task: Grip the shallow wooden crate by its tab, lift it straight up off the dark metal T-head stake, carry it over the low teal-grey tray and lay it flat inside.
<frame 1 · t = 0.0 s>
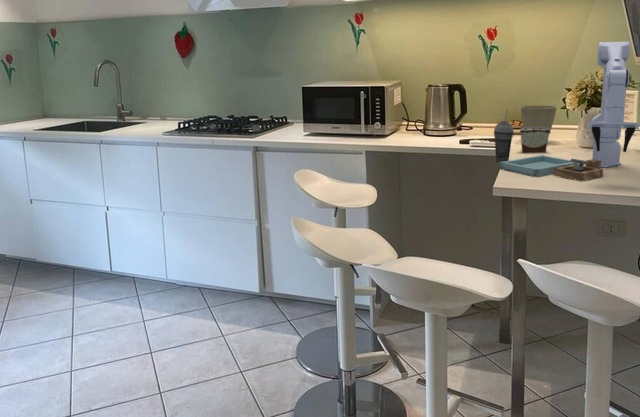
hand: (611, 151, 201), 11 cm above the counter, tool pointing down, fingers open, 7 cm apart
beverage cup: (502, 162, 243), on the counter
food container: (532, 152, 261), on the counter
stake: (578, 176, 216), on the counter
shallow wooden crate: (578, 176, 216), on the counter
tray: (538, 168, 229), on the counter
plant pot: (536, 143, 281), on the counter
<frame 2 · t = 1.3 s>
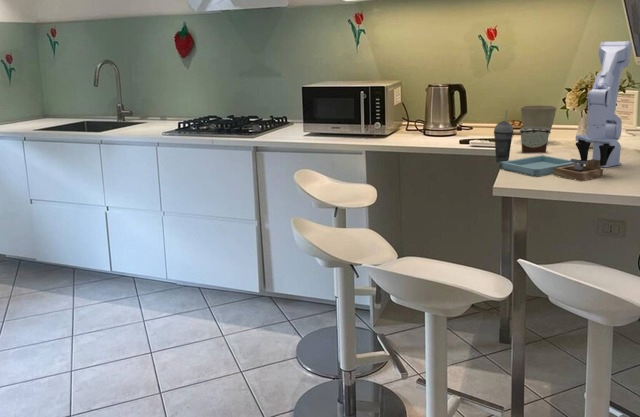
hand: (593, 163, 218), 3 cm above the counter, tool pointing down, fingers open, 7 cm apart
nothing on the counter moved.
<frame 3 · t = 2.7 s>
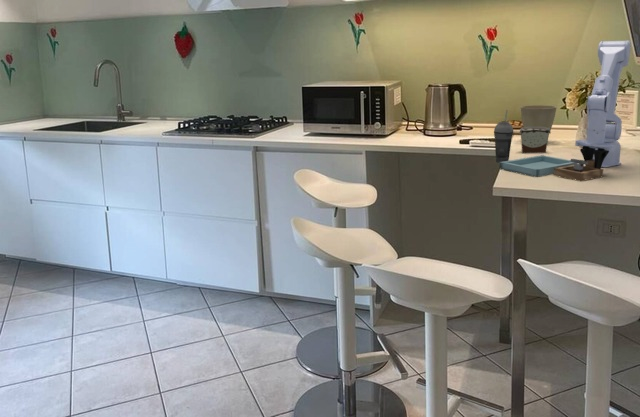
hand: (592, 169, 219), 1 cm above the counter, tool pointing down, fingers closed on shallow wooden crate, 3 cm apart
shallow wooden crate: (578, 176, 216), on the counter, touching gripper
everything else where it was.
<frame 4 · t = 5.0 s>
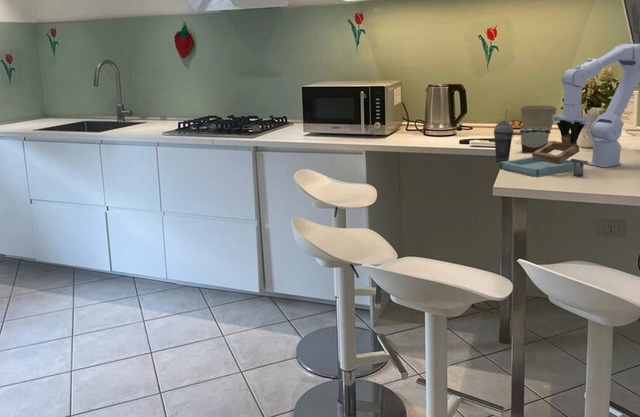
hand: (569, 142, 225), 9 cm above the counter, tool pointing down, fingers closed on shallow wooden crate, 3 cm apart
shallow wooden crate: (555, 155, 223), point 6 cm above the counter, tilted 17°, touching gripper
everything else where it was.
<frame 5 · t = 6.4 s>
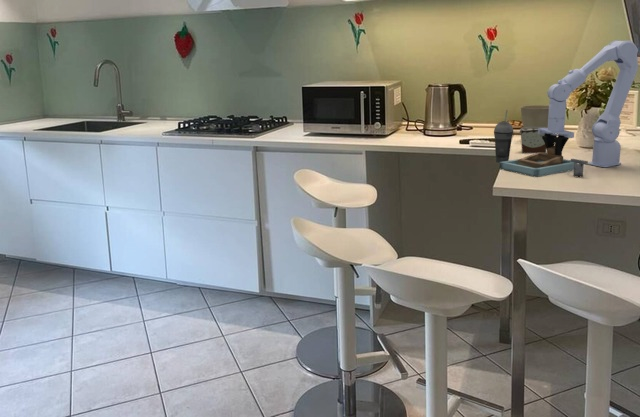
hand: (554, 155, 231), 4 cm above the counter, tool pointing down, fingers closed on shallow wooden crate, 3 cm apart
shallow wooden crate: (540, 164, 229), point 1 cm above the counter, tilted 9°, touching gripper, tray
everything else where it was.
when the fingers open (4 cm above the counter, at t = 7.2 s): shallow wooden crate stays where it is, resting on tray.
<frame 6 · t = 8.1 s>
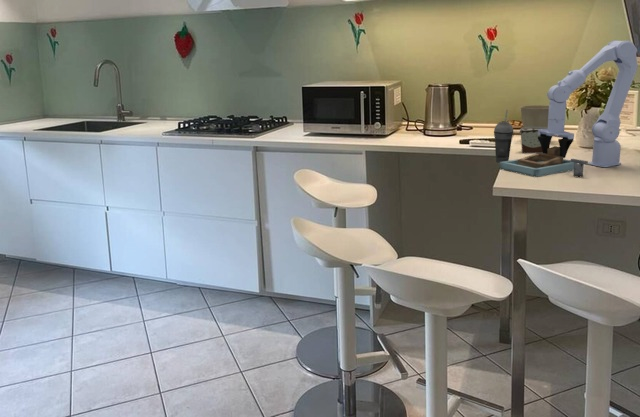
hand: (554, 156, 231), 4 cm above the counter, tool pointing down, fingers open, 7 cm apart
shallow wooden crate: (540, 165, 229), point 1 cm above the counter, tilted 8°, touching tray
everything else where it was.
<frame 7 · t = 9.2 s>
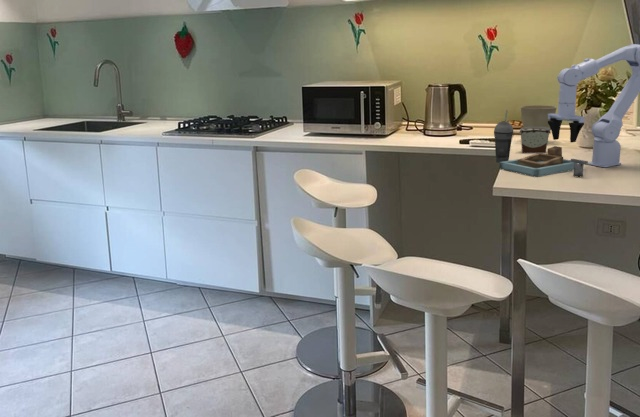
hand: (564, 140, 229), 9 cm above the counter, tool pointing down, fingers open, 7 cm apart
nothing on the counter moved.
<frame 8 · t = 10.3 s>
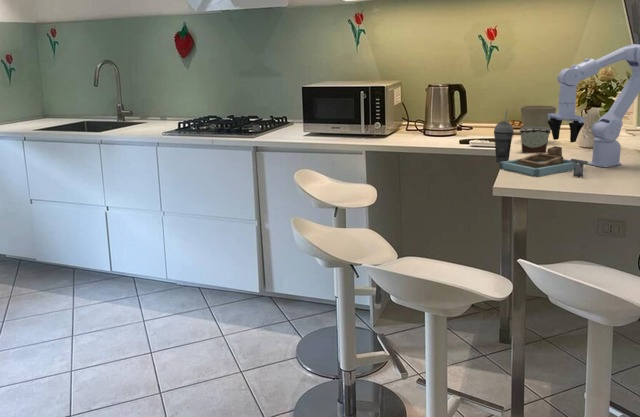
hand: (564, 140, 229), 9 cm above the counter, tool pointing down, fingers open, 7 cm apart
nothing on the counter moved.
at the end: shallow wooden crate inside the target area on the tray (0.7 cm from its centre), point 1.3 cm above the tray's base; shallow wooden crate tilted 8°; the gripper is holding nothing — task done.
